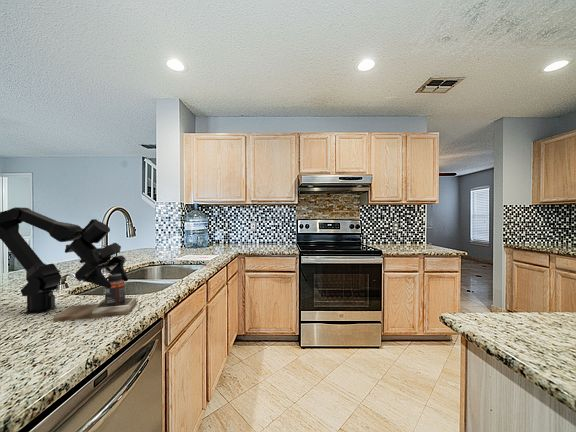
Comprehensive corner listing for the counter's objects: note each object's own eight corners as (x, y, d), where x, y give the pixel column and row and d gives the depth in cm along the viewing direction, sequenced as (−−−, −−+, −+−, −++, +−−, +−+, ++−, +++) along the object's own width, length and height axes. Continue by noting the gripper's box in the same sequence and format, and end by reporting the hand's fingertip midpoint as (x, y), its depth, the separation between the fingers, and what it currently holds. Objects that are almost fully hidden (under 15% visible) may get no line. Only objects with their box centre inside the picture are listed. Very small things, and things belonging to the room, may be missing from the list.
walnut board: (53, 321, 87) (53, 312, 87) (71, 309, 98) (71, 301, 98) (128, 314, 93) (128, 306, 93) (136, 303, 104) (136, 296, 104)
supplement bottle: (127, 303, 101) (126, 272, 101) (122, 308, 95) (122, 275, 95) (108, 305, 99) (107, 273, 99) (102, 310, 93) (102, 277, 93)
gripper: (83, 238, 88) (118, 273, 87) (120, 234, 106) (149, 263, 106) (59, 263, 88) (94, 298, 88) (100, 254, 106) (128, 283, 106)
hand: (119, 283), depth 97 cm, fingers open, 9 cm apart
